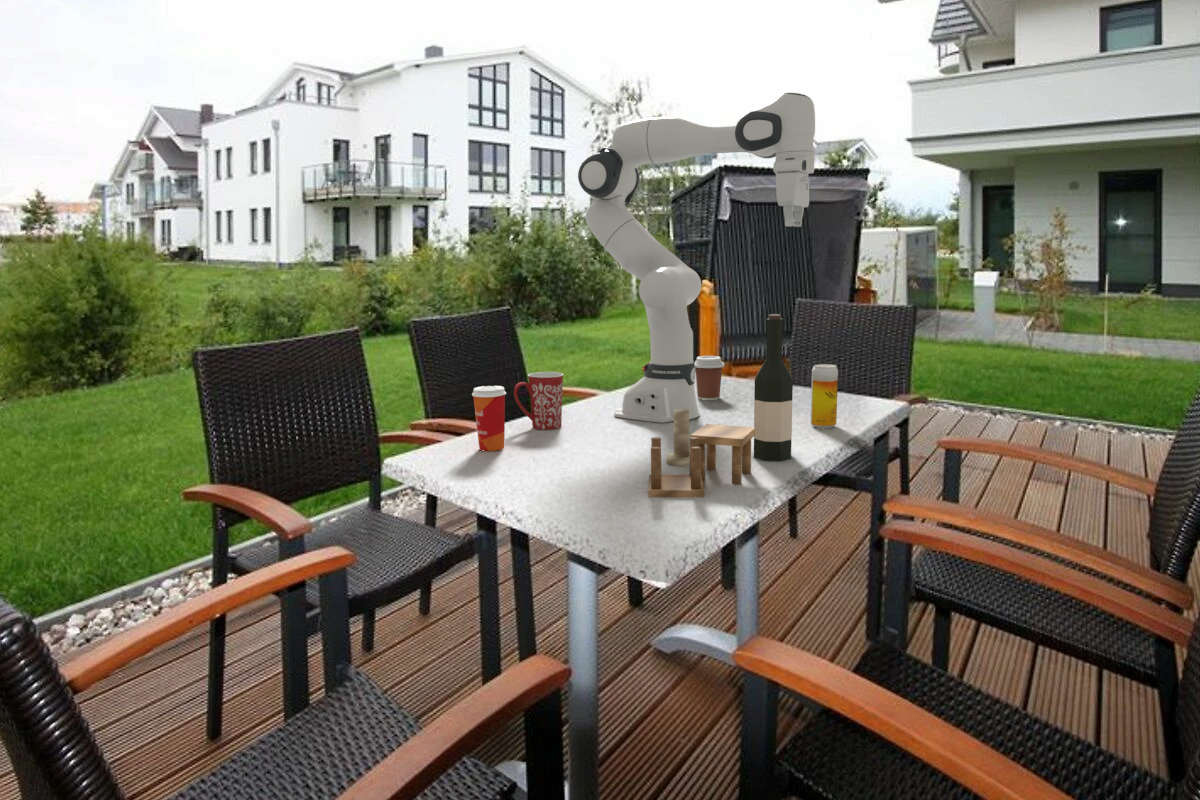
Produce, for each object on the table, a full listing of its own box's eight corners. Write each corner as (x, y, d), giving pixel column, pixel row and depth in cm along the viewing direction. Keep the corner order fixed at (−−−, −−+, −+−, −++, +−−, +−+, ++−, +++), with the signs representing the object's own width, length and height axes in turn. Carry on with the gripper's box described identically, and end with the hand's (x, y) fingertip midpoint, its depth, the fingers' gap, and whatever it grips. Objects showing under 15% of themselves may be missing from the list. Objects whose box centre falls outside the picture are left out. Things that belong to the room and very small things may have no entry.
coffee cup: (689, 400, 233) (689, 359, 231) (697, 394, 242) (697, 354, 239) (720, 401, 230) (720, 360, 228) (727, 396, 238) (727, 355, 236)
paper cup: (475, 445, 187) (472, 385, 185) (509, 443, 188) (506, 384, 185) (473, 453, 180) (470, 392, 177) (508, 452, 180) (505, 390, 178)
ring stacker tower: (661, 464, 168) (660, 412, 165) (672, 456, 173) (671, 406, 171) (691, 467, 165) (691, 414, 163) (701, 459, 171) (701, 408, 169)
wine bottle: (761, 449, 178) (763, 312, 172) (798, 454, 173) (801, 313, 167) (745, 458, 171) (747, 316, 165) (783, 463, 166) (786, 317, 160)
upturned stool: (648, 498, 147) (647, 450, 145) (649, 482, 156) (648, 436, 155) (703, 498, 146) (704, 449, 144) (701, 481, 156) (701, 436, 154)
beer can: (837, 429, 194) (839, 367, 191) (811, 429, 195) (812, 367, 192) (835, 424, 200) (837, 363, 197) (809, 423, 201) (811, 363, 198)
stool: (691, 480, 156) (690, 434, 154) (706, 466, 165) (706, 423, 163) (741, 485, 152) (742, 439, 150) (754, 471, 161) (755, 427, 159)
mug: (561, 421, 210) (559, 370, 207) (568, 429, 201) (567, 375, 199) (512, 425, 207) (510, 373, 204) (518, 433, 198) (516, 379, 195)
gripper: (790, 169, 200) (789, 227, 202) (771, 163, 181) (770, 226, 184) (816, 168, 197) (814, 226, 200) (799, 161, 179) (798, 225, 181)
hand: (793, 226), depth 192 cm, fingers open, 8 cm apart
